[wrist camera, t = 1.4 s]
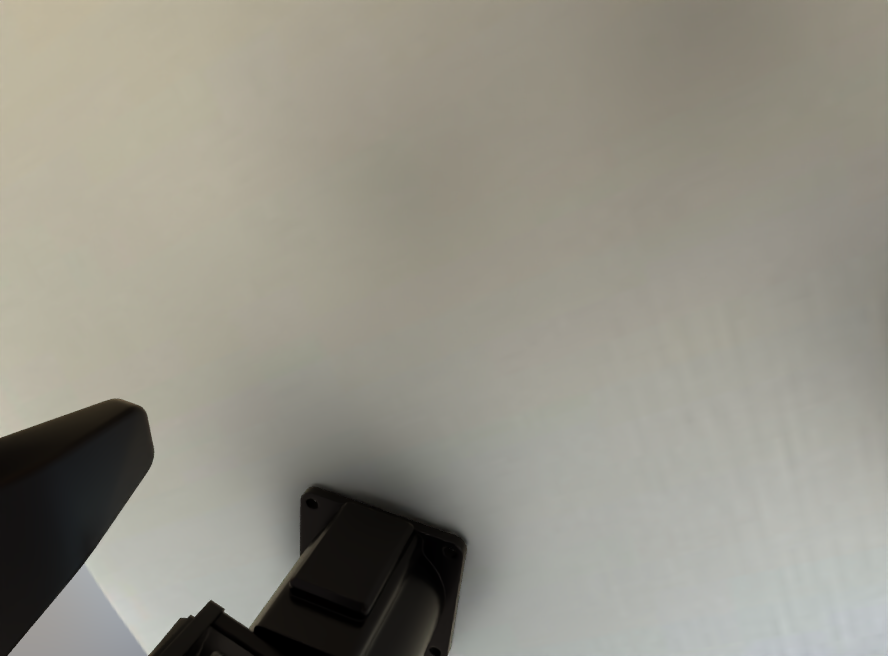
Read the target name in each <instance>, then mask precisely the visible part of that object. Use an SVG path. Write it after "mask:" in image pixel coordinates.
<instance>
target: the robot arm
mask: <svg viewBox="0 0 888 656" xmlns="http://www.w3.org/2000/svg"><path fill="white" fill-rule="evenodd" d="M153 458H154V446H153V442H152V437H151V432H150V427H149V422H148V417H147V414H146V411H145V410H144V409H143V408H142V407H141V406H139V405H136V404H133V403H131V402H128V401H125V400H122V399H110V400H107V401H104V402H101V403H98V404H95V405H92V406H90V407H87V408H84V409H81V410H78V411H75V412H73V413H70V414H67V415H64V416H61V417H58V418H55V419H53V420H50V421H47V422H44V423H41V424H38V425H36V426H33V427H30V428H27V429H24V430H21V431H19V432H16V433H13V434H10V435H7V436H4V437H1V438H0V656H8V654H9V653H10V652H11V651H12V649H13V648H14V647H15V646H16V645H17V644H18V642H19V641H20V640H21V639H22V638H23V636H24V635H25V634H26V633H27V632H28V630H29V629H30V628H31V627H32V626H33V624H34V623H35V622H36V621H37V620H38V618H39V617H40V616H41V615H42V614H43V613H44V611H45V610H46V609H47V608H48V607H49V605H50V604H51V603H52V602H53V601H54V599H55V598H56V597H57V596H58V595H59V593H60V592H61V591H62V590H63V589H64V587H65V586H66V585H67V584H68V583H69V581H70V580H71V579H72V578H73V577H74V575H75V574H76V573H77V572H78V570H79V569H80V568H81V567H82V565H83V564H84V563H85V561H86V560H87V559H88V557H89V556H90V555H91V553H92V552H93V550H94V549H95V548H96V546H97V545H98V543H99V542H100V540H101V539H102V537H103V536H104V535H105V533H106V532H107V530H108V529H109V527H110V526H111V524H112V523H113V521H114V520H115V519H116V517H117V516H118V514H119V513H120V511H121V510H122V508H123V507H124V505H125V504H126V503H127V501H128V500H129V498H130V497H131V495H132V494H133V492H134V491H135V489H136V488H137V486H138V485H139V484H140V482H141V481H142V479H143V478H144V476H145V475H146V473H147V472H148V470H149V469H150V467H151V464H152V462H153ZM314 500H315V501H314ZM449 547H450V548H452V549H454V550H452V549H450V548H449ZM466 552H467V546H466V544H465V542H464V541H463V540H462V539H461V538H460V537H458V536H456V535H453V534H450V533H448V532H445V531H442V530H439V529H436V528H433V527H430V526H427V525H425V524H422V523H419V522H416V521H413V520H410V519H407V518H405V517H402V516H399V515H396V514H393V513H390V512H387V511H384V510H382V509H379V508H376V507H373V506H370V505H367V504H364V503H361V502H359V501H356V500H353V499H350V498H347V497H344V496H341V495H338V494H336V493H333V492H330V491H327V490H324V489H321V488H318V487H309V488H308V489H307V490H306V491H305V492H304V494H303V495H302V496H301V507H300V558H299V559H298V561H297V562H296V563H295V565H294V566H293V568H292V569H291V570H290V572H289V573H288V575H287V576H286V577H285V579H284V580H283V582H282V583H281V584H280V586H279V587H278V588H277V590H276V591H275V593H274V594H273V595H272V597H271V598H270V600H269V601H268V602H267V604H266V605H265V607H264V608H263V609H262V611H261V612H260V613H259V615H258V616H257V618H256V619H255V620H254V622H253V623H252V625H251V626H250V627H249V629H248V628H247V627H245V626H244V625H242V624H241V623H240V622H238V621H237V620H235V619H234V618H232V617H231V616H229V615H228V614H226V613H225V612H224V610H225V609H224V608H223V607H221V606H220V605H218V604H217V603H215V602H214V601H212V600H210V601H209V602H208V603H207V604H206V606H205V607H204V608H203V609H202V610H201V611H200V612H199V613H198V614H197V615H196V616H195V617H194V616H192V615H190V616H189V617H188V618H180V619H179V620H178V621H177V622H176V624H175V625H174V626H173V627H172V629H171V630H170V631H169V632H168V633H167V635H166V636H165V637H164V638H163V639H162V641H161V642H160V643H159V644H158V645H157V646H156V648H155V649H154V650H153V651H152V652H151V653H150V654H149V655H148V656H448V653H449V651H450V649H451V643H452V637H453V631H454V625H455V619H456V613H457V607H458V600H459V594H460V588H461V582H462V576H463V570H464V564H465V558H466Z"/></svg>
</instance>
